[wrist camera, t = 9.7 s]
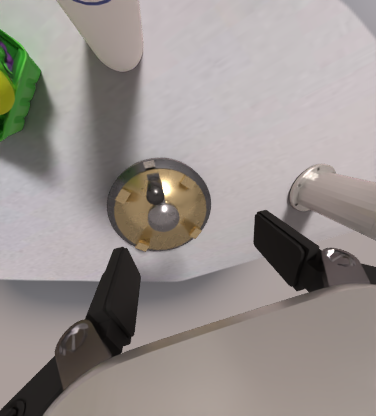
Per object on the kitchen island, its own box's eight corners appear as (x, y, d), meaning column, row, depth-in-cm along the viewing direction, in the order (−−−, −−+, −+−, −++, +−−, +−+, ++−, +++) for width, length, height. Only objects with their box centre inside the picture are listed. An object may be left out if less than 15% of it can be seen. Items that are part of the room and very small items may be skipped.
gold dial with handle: (146, 146, 24) (143, 151, 17) (220, 199, 32) (241, 218, 24) (99, 226, 29) (80, 258, 21) (174, 255, 36) (179, 286, 29)
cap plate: (220, 171, 31) (226, 174, 29) (193, 247, 39) (196, 254, 37) (113, 144, 25) (109, 145, 23) (107, 241, 33) (103, 249, 31)
